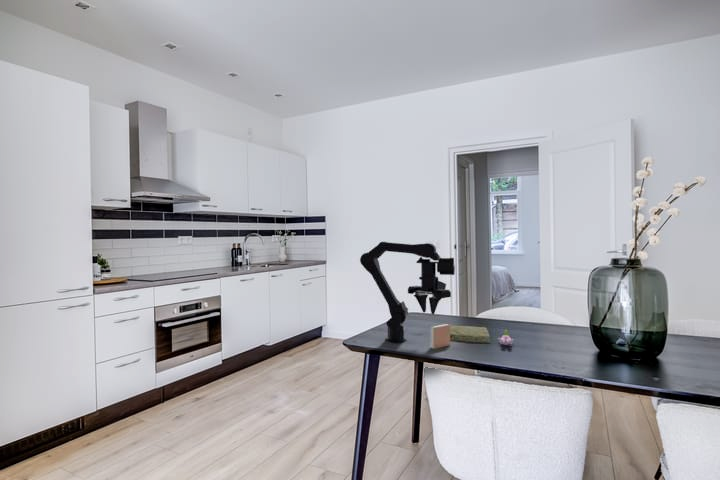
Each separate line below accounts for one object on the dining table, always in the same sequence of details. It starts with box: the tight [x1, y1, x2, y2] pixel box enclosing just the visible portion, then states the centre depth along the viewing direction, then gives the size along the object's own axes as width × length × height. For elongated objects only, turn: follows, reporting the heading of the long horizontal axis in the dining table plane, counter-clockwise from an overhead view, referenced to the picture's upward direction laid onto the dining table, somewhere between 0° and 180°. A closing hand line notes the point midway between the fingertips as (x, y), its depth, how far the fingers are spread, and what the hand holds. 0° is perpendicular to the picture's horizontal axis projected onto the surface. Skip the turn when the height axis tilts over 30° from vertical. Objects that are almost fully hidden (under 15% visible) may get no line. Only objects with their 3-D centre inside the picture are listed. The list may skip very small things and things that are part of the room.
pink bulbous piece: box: [497, 329, 515, 346], centre depth 163 cm, size 6×6×15 cm
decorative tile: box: [450, 325, 491, 344], centre depth 176 cm, size 19×20×4 cm
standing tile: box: [429, 323, 451, 349], centre depth 161 cm, size 2×9×8 cm, turn 127°
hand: (428, 313), depth 166 cm, fingers open, 4 cm apart
